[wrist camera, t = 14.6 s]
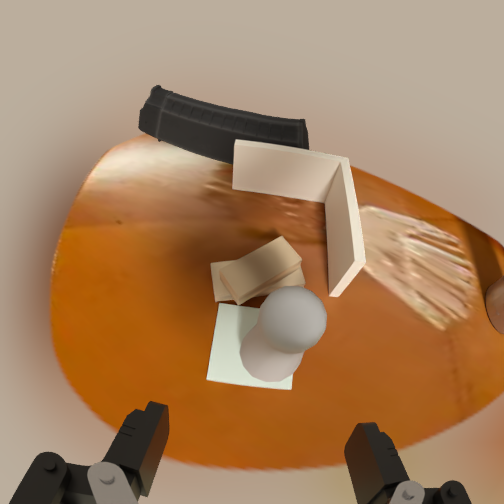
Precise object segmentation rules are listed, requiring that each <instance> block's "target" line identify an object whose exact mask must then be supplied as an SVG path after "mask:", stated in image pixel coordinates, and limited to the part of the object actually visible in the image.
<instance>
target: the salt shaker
mask: <svg viewBox="0 0 504 504" xmlns="http://www.w3.org/2000/svg"><path fill="white" fill-rule="evenodd" d="M326 319H327V313H326V311H325V308H324V305H323V303H322V301H321V300H320V299H319V298H318V297H317V296H316V295H315V294H314V293H313V292H312V291H310V290H308V289H305V288H303V287H301V286H283V287H281V288H279V289H277V290H275V291H272V292H271V293H270V294H269V296H268V297H267V298H266V300H265V301H264V302H263V303H262V305H261V306H260V311H259V316H258V321H257V324H256V325H255V326H254V327H253V328H252V329H250V331H249V332H248V333H247V334H246V336H245V337H244V338H243V340H242V343H241V348H240V352H239V354H240V357H241V361H242V364H243V367H244V368H245V369H246V370H247V371H248V372H249V374H250V375H251V376H252V377H254V378H257V379H259V380H262V381H264V382H280V381H282V380H284V379H285V378H287V377H289V376H291V375H292V374H293V373H294V371H295V370H296V369H297V367H298V366H299V364H300V362H301V359H302V356H303V353H304V351H305V350H307V349H309V348H310V347H312V346H314V345H316V344H317V342H318V341H319V339H320V338H321V336H322V335H323V333H324V331H325V329H326Z"/></svg>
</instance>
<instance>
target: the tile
mask: <svg viewBox="0 0 504 504" xmlns="http://www.w3.org/2000/svg"><path fill="white" fill-rule="evenodd" d="M259 311H260V308H252V307H245V306H238V305H231V304H224V303H219V308H218V314H217V320H216V326H215V331H214V337H213V343H212V349H211V355H210V361H209V367H208V373H207V380H210V381H216V382H222V383H229V384H237V385H244V386H253V387H262V388H272V389H285V390H291V388H292V376H293V374H292V375H291V376H289V377H287V378H285V379H284V380H282V381H280V382H264V381H262V380H259V379H257V378H254V377H252V376H251V375H250V374H249V372H248V371H247V370H246V369H245V368H244V367H243V364H242V361H241V357H240V354H239V352H240V348H241V343H242V340H243V338H244V337H245V336H246V334H247V333H248V332H249V331H250V329H252V328H253V327H254V326H255V325H256V324H257V321H258V316H259Z"/></svg>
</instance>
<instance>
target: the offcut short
mask: <svg viewBox="0 0 504 504" xmlns="http://www.w3.org/2000/svg"><path fill="white" fill-rule="evenodd" d="M301 261H302V259H301V257H300V256H299V255H298V254H297V253H296V252H295V250H294V249H293V248H292V247H291V246H290V245H289V244H288V242H287V241H286V240H285V239H284V238H283V237H282V236H281V237H279V238H277V239H275V240H273V241H271V242H270V243H268V244H266V245H264V246H262V247H260V248H258V249H256V250H255V251H253V252H251V253H249V254H247V255H245V256H243V257H242V258H240V259H238V260H236V261H234V262H232V263H230V264H229V265H227V266H225V267H223V268H221V269H219V272H220V280H221V282H222V283H223V285H224V286H225V288H226V289H227V290H228V292H229V293H230V295H231V296H232V298H233V299H234V300H235V302H236V303H237V305H238V306H239V305H240V304H242V303H244V302H245V301H247V300H249V299H250V298H252V297H254V296H255V295H257V294H259V293H260V292H262V291H264V290H265V289H267V288H269V287H270V286H272V285H274V284H275V283H277V282H279V281H280V280H282V279H283V278H285V277H287V276H288V275H290V274H292V273H293V272H295V271H296V270H298V268H299V266H300V264H301Z"/></svg>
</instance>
